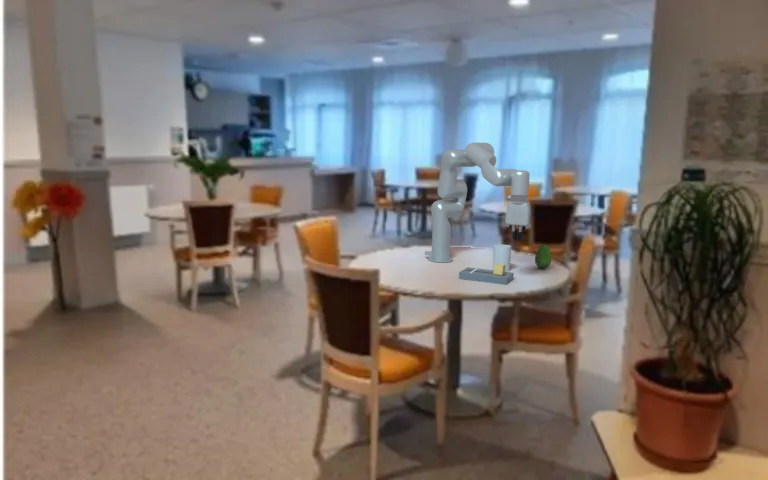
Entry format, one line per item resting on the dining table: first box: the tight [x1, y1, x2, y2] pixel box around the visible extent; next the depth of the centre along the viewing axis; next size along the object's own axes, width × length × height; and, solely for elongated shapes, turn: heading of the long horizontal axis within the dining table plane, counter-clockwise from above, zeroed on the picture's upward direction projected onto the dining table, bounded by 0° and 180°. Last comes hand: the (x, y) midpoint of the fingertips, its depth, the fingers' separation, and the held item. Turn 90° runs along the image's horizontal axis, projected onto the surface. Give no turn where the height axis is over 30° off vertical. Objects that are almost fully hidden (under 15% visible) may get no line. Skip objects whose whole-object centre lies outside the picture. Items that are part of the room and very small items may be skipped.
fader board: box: [458, 267, 514, 286], centre depth 265 cm, size 22×12×3 cm, turn 63°
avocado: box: [534, 244, 552, 270], centre depth 288 cm, size 8×8×12 cm
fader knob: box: [494, 263, 506, 275], centre depth 262 cm, size 4×5×4 cm
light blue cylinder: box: [492, 243, 512, 272], centre depth 283 cm, size 8×8×12 cm
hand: (516, 240), depth 256 cm, fingers closed
